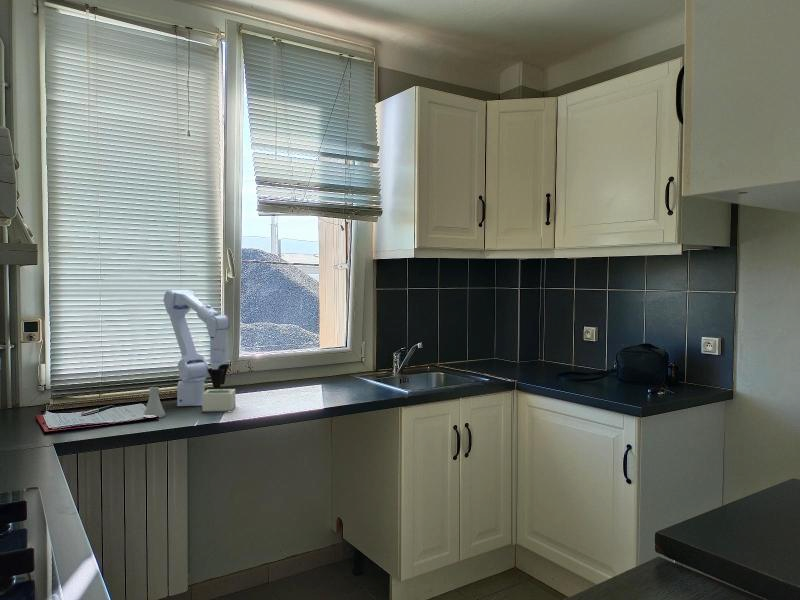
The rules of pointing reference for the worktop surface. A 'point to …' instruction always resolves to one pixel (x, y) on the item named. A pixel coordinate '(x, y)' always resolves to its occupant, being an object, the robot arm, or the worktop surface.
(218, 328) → the robot arm
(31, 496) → the worktop surface
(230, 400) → the box
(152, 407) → the flask
